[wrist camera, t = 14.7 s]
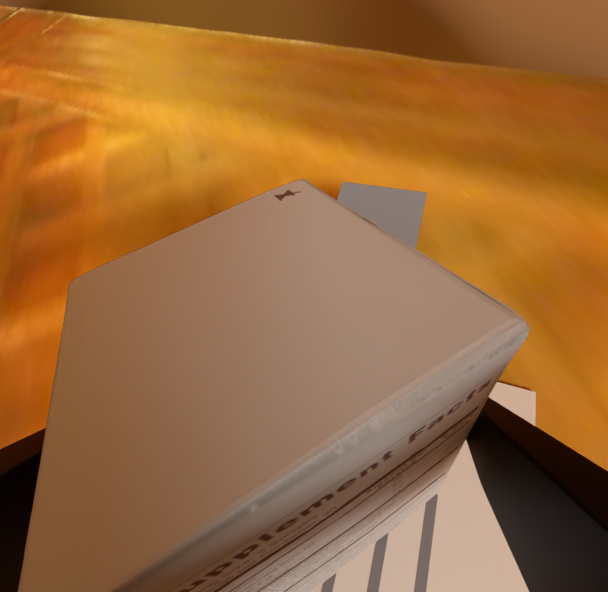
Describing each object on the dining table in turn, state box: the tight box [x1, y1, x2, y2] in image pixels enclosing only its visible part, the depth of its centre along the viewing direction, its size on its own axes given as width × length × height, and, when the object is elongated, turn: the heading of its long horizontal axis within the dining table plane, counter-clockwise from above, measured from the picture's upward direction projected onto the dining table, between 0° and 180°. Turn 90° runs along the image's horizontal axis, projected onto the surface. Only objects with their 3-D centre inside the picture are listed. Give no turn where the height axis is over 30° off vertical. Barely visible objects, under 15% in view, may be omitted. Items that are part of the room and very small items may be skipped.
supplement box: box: [18, 179, 529, 592], centre depth 10 cm, size 7×7×13 cm
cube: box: [337, 182, 426, 249], centre depth 19 cm, size 5×5×5 cm
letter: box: [312, 382, 536, 592], centre depth 16 cm, size 14×21×1 cm, turn 72°
